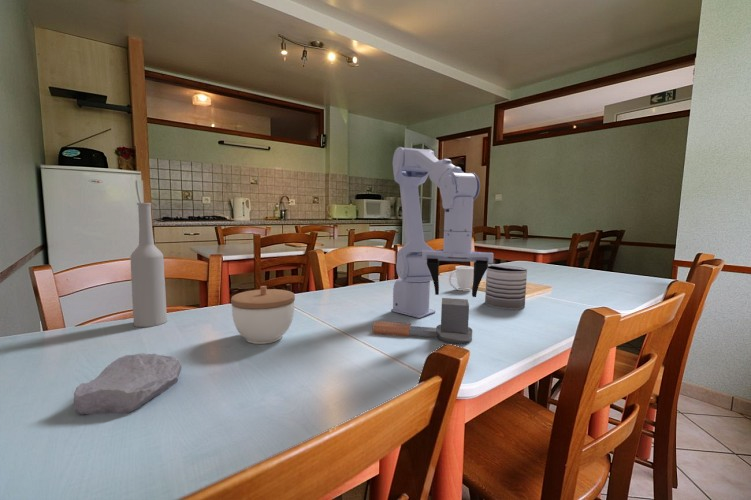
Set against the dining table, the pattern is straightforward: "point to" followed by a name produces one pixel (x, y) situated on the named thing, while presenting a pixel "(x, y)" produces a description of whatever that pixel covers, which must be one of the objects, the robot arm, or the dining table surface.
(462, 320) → the dark grey cube
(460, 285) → the cup
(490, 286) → the can
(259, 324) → the lidded bowl
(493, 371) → the dining table surface
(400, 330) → the ratchet
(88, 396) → the stone block
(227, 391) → the dining table surface
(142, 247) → the bottle
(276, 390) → the dining table surface
